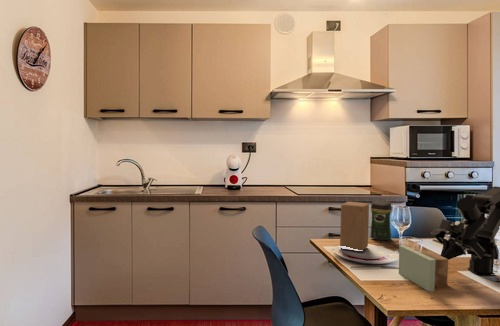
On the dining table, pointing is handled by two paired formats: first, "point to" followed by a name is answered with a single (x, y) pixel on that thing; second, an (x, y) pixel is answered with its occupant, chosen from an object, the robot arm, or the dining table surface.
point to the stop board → (417, 267)
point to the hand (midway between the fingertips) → (440, 260)
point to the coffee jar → (380, 220)
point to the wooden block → (354, 225)
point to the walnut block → (439, 268)
